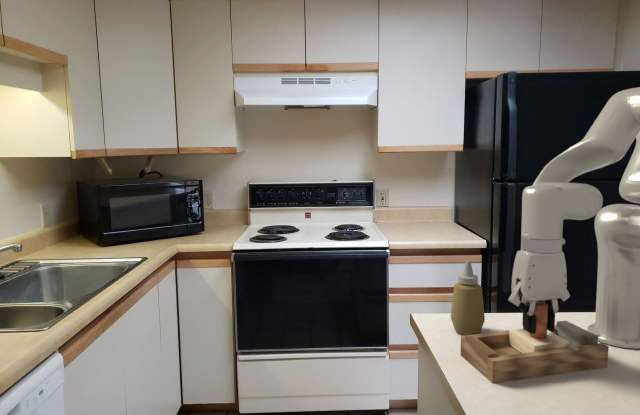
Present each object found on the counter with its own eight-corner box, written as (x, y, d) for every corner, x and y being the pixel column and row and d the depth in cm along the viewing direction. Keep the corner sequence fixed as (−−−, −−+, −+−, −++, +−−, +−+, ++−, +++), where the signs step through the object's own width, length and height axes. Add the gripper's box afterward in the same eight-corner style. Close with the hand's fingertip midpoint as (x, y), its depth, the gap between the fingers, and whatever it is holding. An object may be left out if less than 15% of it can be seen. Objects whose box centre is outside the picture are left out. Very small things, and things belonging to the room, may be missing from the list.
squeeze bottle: (487, 339, 101) (488, 265, 99) (452, 337, 103) (452, 265, 101) (481, 326, 109) (482, 257, 107) (449, 324, 111) (449, 257, 109)
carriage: (541, 340, 95) (542, 296, 94) (568, 356, 87) (570, 308, 86) (509, 344, 93) (510, 299, 92) (533, 361, 86) (535, 312, 84)
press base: (563, 342, 98) (564, 317, 98) (607, 366, 87) (608, 338, 86) (460, 355, 94) (460, 329, 93) (492, 383, 82) (493, 353, 81)
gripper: (562, 239, 93) (559, 320, 95) (493, 244, 90) (492, 327, 92) (590, 246, 86) (586, 333, 88) (516, 251, 82) (514, 342, 85)
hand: (538, 329), depth 90 cm, fingers open, 3 cm apart
